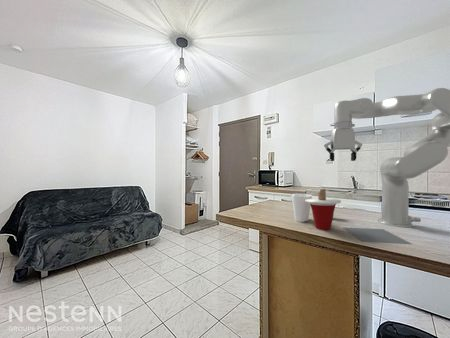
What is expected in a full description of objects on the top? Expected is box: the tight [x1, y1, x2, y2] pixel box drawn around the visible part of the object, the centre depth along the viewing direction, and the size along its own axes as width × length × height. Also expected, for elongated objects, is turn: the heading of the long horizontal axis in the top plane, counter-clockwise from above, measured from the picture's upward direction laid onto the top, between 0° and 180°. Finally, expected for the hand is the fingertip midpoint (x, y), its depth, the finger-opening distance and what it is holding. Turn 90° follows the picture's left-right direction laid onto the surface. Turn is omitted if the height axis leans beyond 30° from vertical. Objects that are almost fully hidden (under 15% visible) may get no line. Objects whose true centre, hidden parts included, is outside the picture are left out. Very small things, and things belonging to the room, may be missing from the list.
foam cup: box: [291, 193, 313, 223], centre depth 99 cm, size 10×9×13 cm
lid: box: [305, 189, 342, 205], centre depth 86 cm, size 14×14×5 cm
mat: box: [342, 226, 412, 245], centre depth 77 cm, size 16×16×1 cm
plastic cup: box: [309, 203, 337, 231], centre depth 85 cm, size 11×11×12 cm
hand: (342, 160), depth 97 cm, fingers open, 9 cm apart
